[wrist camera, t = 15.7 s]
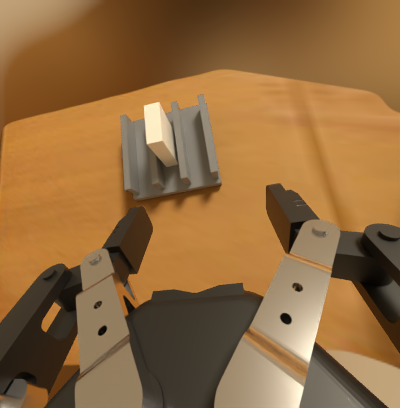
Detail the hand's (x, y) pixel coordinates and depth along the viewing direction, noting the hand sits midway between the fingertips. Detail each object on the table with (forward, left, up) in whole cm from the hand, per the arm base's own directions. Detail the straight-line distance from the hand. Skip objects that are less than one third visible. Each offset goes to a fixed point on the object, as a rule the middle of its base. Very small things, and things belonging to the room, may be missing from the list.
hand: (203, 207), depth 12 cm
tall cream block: (+1, -19, -21) cm, 28 cm away
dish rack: (+1, -19, -23) cm, 29 cm away
